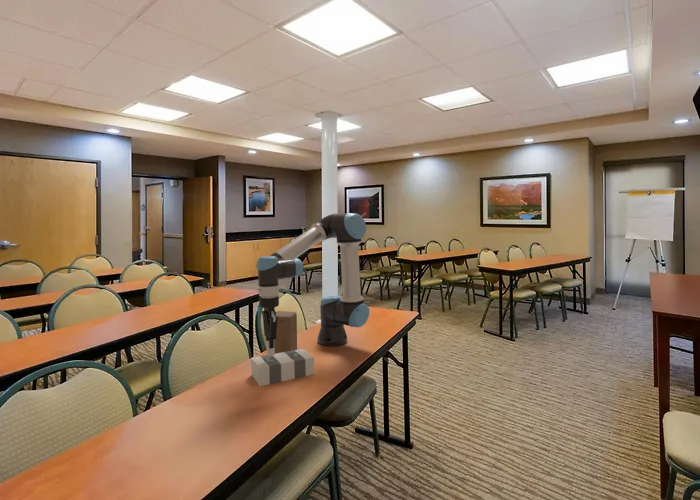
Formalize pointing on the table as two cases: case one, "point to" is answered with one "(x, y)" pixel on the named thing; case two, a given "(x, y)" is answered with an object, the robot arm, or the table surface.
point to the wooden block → (286, 332)
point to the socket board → (282, 367)
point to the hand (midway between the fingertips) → (270, 355)
